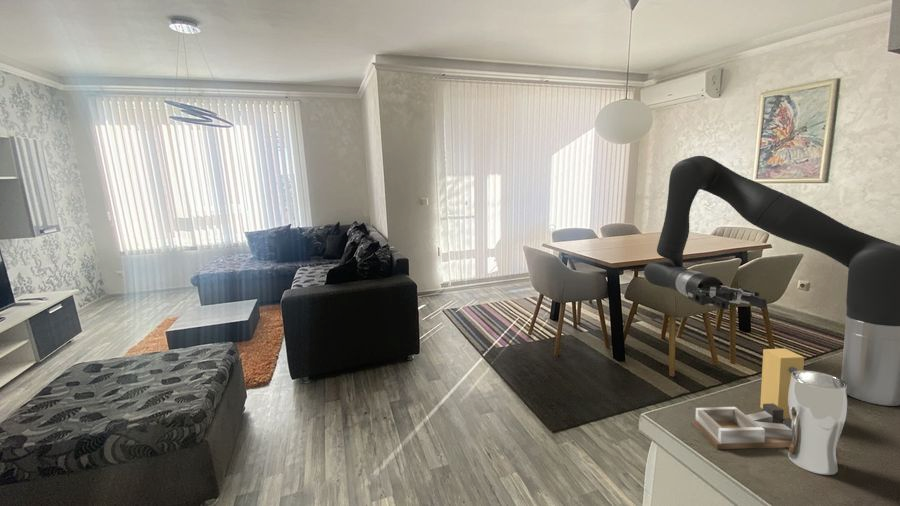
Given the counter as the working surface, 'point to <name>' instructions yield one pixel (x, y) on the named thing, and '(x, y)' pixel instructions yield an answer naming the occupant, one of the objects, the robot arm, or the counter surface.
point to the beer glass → (816, 420)
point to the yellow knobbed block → (778, 376)
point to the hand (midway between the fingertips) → (746, 305)
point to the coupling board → (744, 427)
